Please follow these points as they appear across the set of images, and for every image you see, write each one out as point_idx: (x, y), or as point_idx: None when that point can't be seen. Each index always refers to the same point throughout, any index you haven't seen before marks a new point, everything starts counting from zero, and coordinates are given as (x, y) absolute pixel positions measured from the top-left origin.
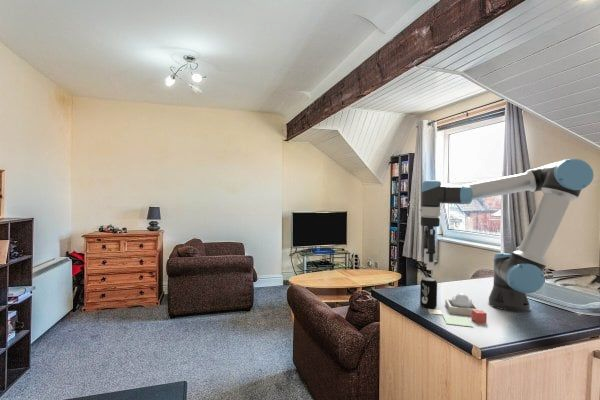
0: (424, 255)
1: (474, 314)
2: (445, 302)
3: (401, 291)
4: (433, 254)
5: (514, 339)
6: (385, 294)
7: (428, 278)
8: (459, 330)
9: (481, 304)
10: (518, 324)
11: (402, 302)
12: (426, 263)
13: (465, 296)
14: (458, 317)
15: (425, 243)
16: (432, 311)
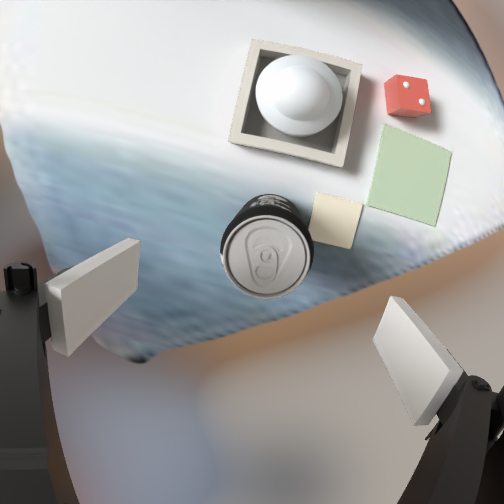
0: (105, 318)
1: (411, 112)
2: (234, 143)
3: None
4: (457, 377)
5: (494, 95)
6: (148, 340)
7: (240, 252)
8: (468, 207)
9: (209, 11)
10: (398, 5)
11: (230, 309)
12: (137, 271)
13: (321, 81)
14: (386, 158)
15: (52, 407)
16: (334, 231)
